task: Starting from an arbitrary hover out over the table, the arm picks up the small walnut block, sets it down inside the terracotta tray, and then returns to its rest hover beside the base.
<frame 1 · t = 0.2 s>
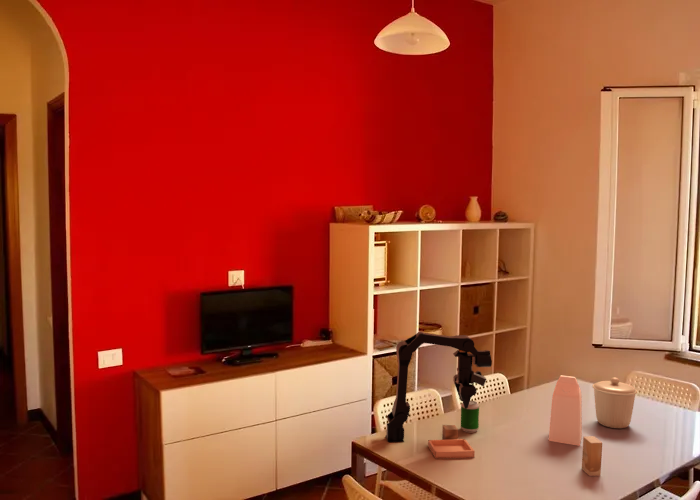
hand: (464, 404, 243), 14 cm above the table, fingers open, 9 cm apart
milk: (565, 438, 246), on the table
terracotta tray: (450, 451, 231), on the table
skincare box: (591, 473, 214), on the table
walnut block: (449, 441, 241), on the table
soda can: (469, 430, 254), on the table
canister: (613, 425, 263), on the table
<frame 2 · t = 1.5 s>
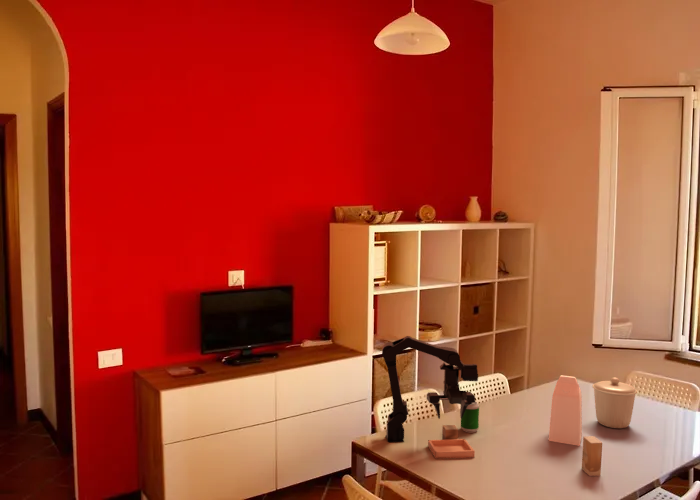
hand: (450, 418, 240), 10 cm above the table, fingers open, 9 cm apart
nothing on the table moved.
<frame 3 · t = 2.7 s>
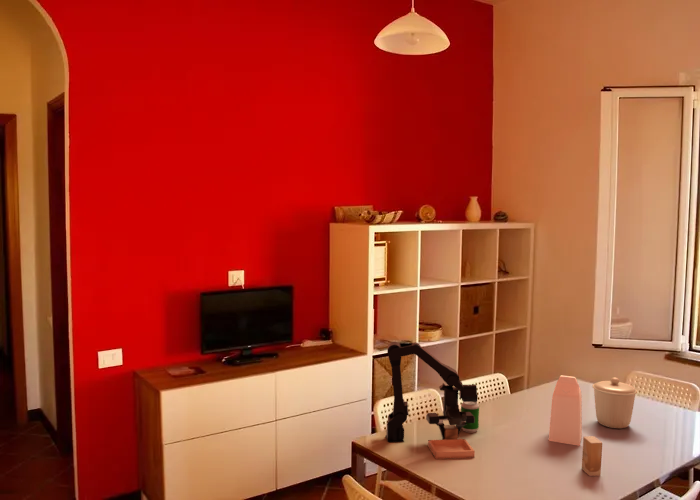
hand: (449, 438, 241), 1 cm above the table, fingers closed on walnut block, 5 cm apart
walnut block: (449, 441, 241), on the table, touching gripper
everything else where it was.
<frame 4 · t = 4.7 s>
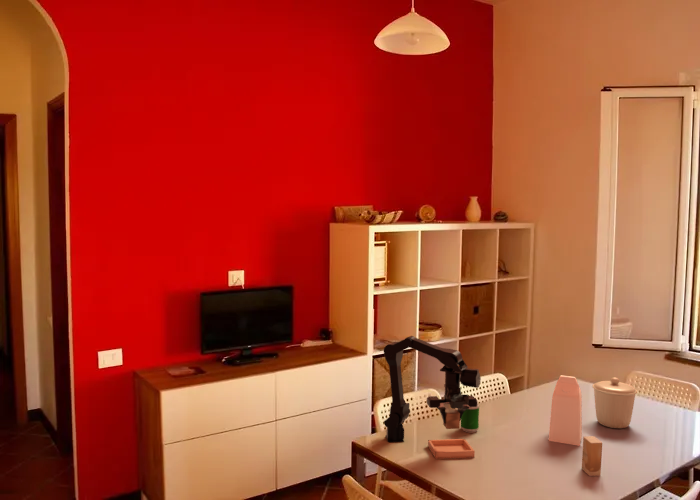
hand: (451, 423, 230), 11 cm above the table, fingers closed on walnut block, 5 cm apart
walnut block: (451, 426, 230), point 10 cm above the table, touching gripper
everything else where it was.
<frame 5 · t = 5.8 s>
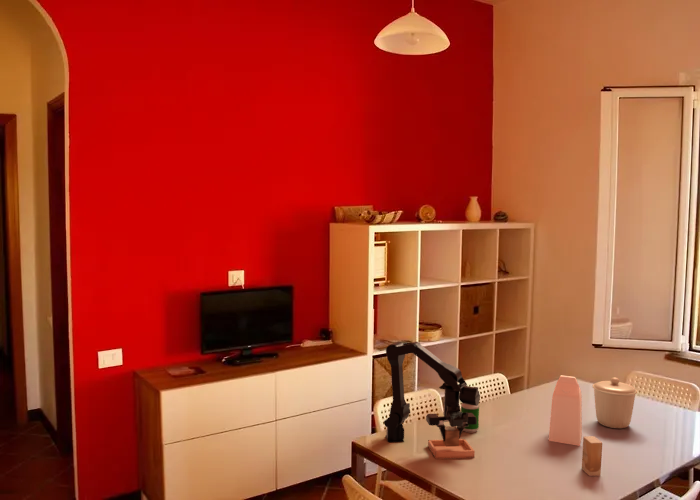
hand: (450, 440, 230), 4 cm above the table, fingers closed on walnut block, 5 cm apart
walnut block: (450, 443, 230), point 3 cm above the table, touching gripper
everything else where it was.
when the fingers open (3 cm above the table, at t = 6.4 s): walnut block drops 2 cm, resting on terracotta tray.
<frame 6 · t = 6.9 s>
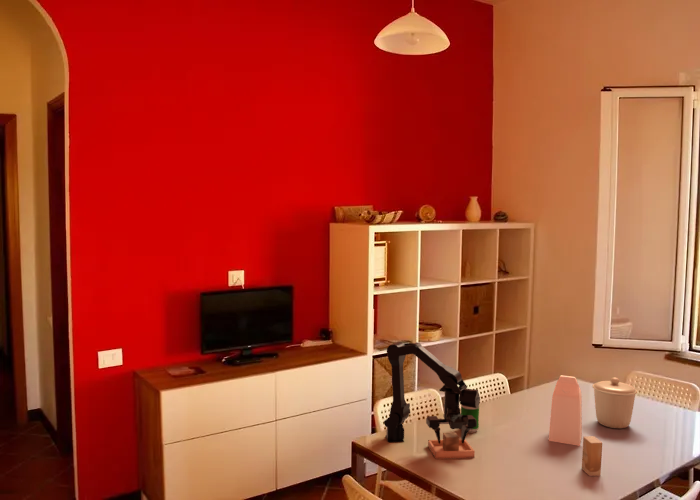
hand: (450, 443, 230), 3 cm above the table, fingers open, 9 cm apart
walnut block: (450, 450, 231), point 1 cm above the table, touching terracotta tray
everything else where it was.
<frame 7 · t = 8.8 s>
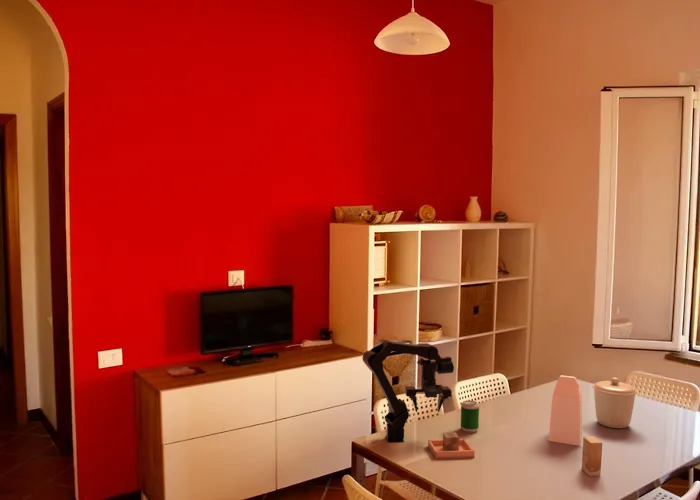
hand: (427, 411, 246), 10 cm above the table, fingers open, 9 cm apart
nothing on the table moved.
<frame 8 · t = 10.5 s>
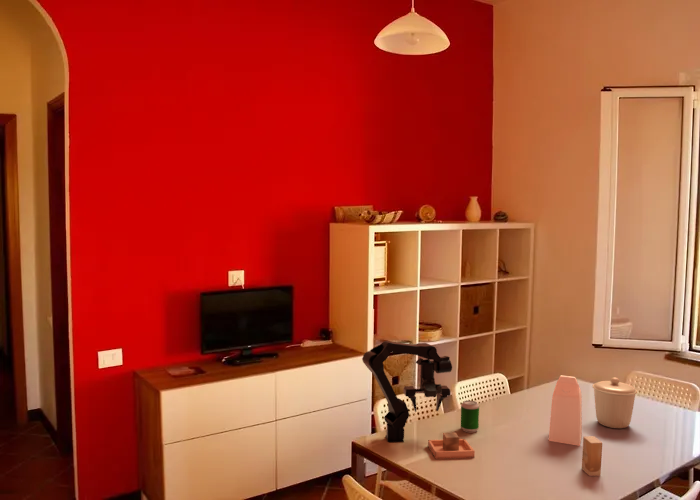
hand: (426, 411, 247), 10 cm above the table, fingers open, 9 cm apart
nothing on the table moved.
at the end: walnut block inside the target area on the terracotta tray (0.1 cm from its centre), point 0.6 cm above the terracotta tray's base; walnut block tilted 0°; the gripper is holding nothing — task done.
